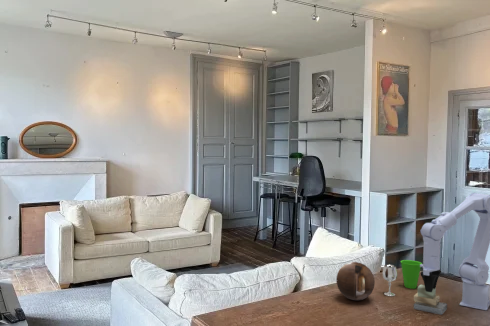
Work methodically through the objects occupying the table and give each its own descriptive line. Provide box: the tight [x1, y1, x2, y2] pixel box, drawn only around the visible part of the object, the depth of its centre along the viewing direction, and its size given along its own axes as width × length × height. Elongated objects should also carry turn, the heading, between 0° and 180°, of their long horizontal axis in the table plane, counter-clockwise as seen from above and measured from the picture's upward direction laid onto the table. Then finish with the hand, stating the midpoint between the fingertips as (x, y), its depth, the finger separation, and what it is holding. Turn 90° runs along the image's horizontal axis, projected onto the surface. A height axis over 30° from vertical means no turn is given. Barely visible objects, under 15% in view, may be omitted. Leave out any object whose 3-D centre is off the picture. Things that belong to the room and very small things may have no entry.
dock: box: [413, 301, 448, 316], centre depth 164 cm, size 10×8×2 cm
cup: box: [400, 259, 423, 290], centre depth 190 cm, size 9×9×11 cm
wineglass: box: [382, 264, 398, 297], centre depth 180 cm, size 6×6×12 cm
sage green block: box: [413, 284, 440, 305], centre depth 166 cm, size 8×6×6 cm
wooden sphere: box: [335, 261, 375, 301], centre depth 174 cm, size 15×15×15 cm
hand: (430, 290), depth 163 cm, fingers open, 4 cm apart
